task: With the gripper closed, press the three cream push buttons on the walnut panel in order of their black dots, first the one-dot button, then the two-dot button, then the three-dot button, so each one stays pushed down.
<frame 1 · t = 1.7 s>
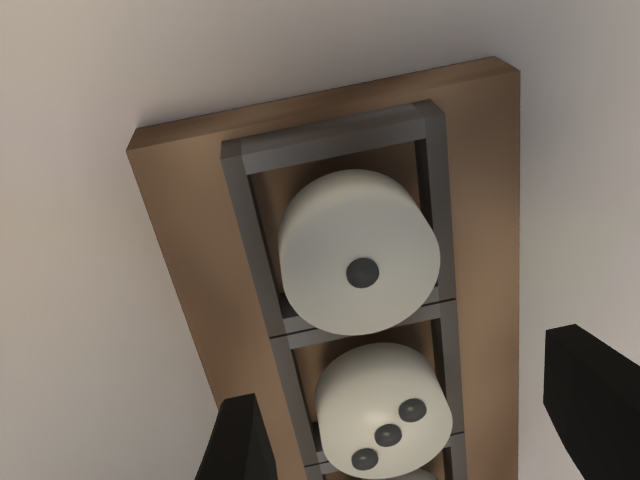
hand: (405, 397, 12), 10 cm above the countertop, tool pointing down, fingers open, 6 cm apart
button panel: (357, 329, 24), on the countertop
button three: (381, 413, 20), point 5 cm above the countertop, slide at 0.0 cm
button one: (356, 254, 17), point 5 cm above the countertop, slide at 0.0 cm
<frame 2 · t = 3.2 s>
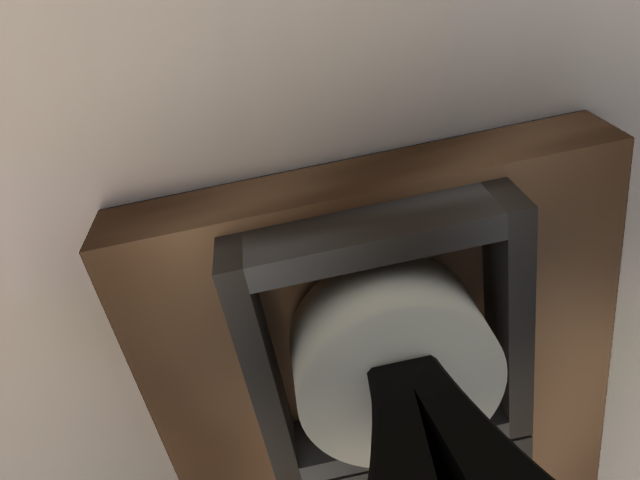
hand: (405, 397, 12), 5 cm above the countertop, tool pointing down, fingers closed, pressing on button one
button panel: (389, 441, 19), on the countertop
button one: (393, 364, 13), point 3 cm above the countertop, slide at 1.2 cm, touching gripper
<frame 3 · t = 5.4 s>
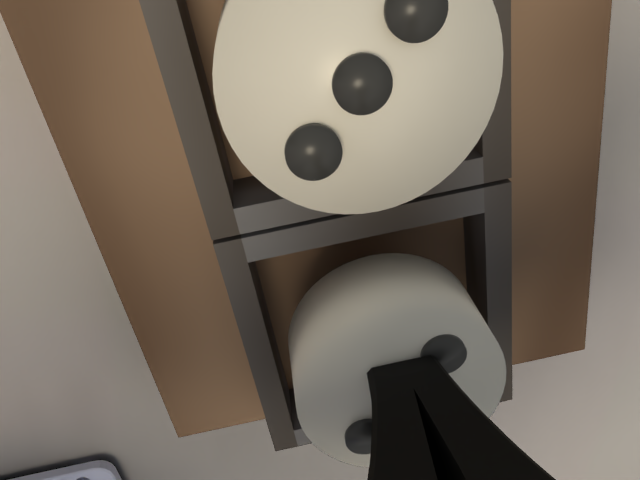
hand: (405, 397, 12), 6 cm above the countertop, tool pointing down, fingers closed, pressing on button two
button panel: (316, 22, 14), on the countertop
button two: (392, 364, 13), point 5 cm above the countertop, slide at 0.0 cm, touching gripper
button three: (350, 68, 10), point 5 cm above the countertop, slide at 0.0 cm
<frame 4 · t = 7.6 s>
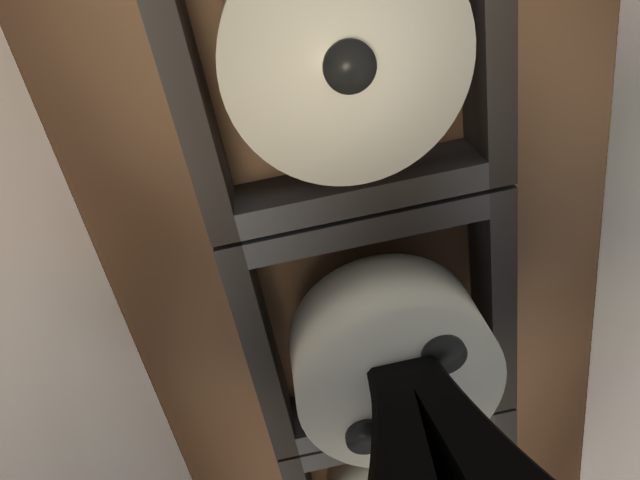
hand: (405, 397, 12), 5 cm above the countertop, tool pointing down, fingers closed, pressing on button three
button panel: (356, 261, 17), on the countertop
button three: (392, 364, 13), point 4 cm above the countertop, slide at 0.3 cm, touching gripper
button one: (340, 54, 11), point 3 cm above the countertop, slide at 1.5 cm
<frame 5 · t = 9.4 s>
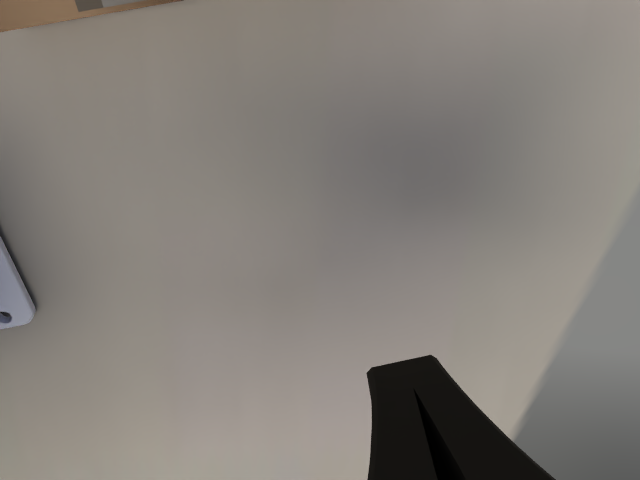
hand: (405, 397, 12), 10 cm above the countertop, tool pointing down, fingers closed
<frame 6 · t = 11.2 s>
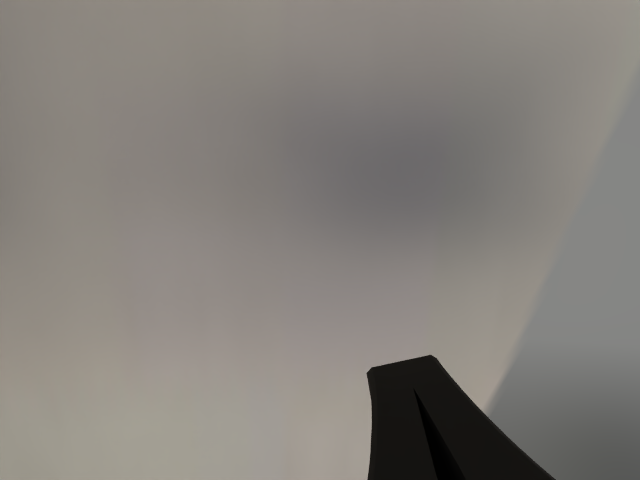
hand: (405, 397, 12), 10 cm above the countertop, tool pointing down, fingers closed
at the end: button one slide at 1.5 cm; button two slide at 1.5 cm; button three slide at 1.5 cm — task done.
